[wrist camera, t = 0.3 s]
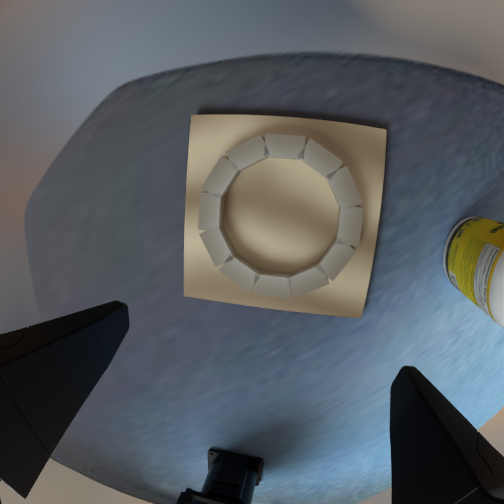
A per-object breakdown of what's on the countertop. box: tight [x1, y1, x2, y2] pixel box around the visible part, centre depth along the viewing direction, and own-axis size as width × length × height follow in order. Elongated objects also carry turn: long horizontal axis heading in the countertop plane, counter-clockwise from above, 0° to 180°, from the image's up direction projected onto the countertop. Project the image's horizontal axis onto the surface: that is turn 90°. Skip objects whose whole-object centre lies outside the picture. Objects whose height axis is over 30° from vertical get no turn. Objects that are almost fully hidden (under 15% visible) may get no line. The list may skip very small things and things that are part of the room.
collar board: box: [184, 115, 387, 318], centre depth 20 cm, size 14×14×2 cm
